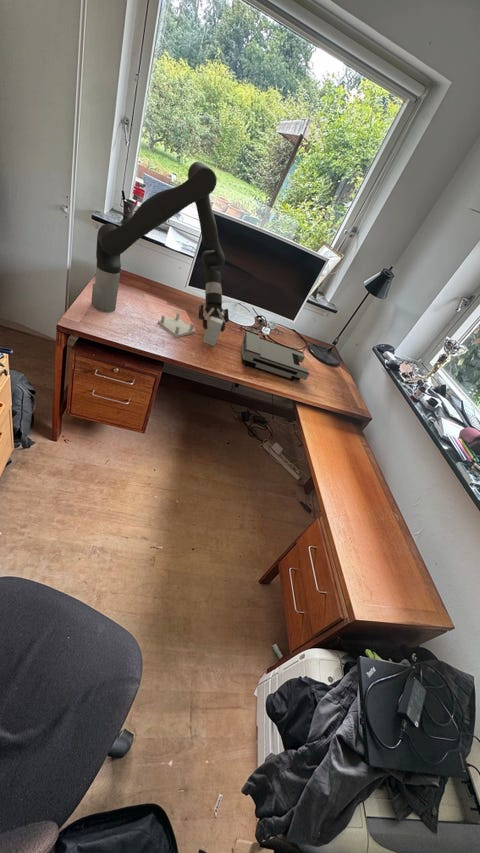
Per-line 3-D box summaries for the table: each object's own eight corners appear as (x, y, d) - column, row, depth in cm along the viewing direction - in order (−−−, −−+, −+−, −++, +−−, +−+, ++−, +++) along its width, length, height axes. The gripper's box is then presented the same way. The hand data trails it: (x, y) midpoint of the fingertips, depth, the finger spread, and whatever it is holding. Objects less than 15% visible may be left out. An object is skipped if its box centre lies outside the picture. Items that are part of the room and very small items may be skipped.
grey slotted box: (302, 386, 164) (310, 372, 159) (240, 365, 157) (246, 350, 152) (297, 363, 179) (304, 350, 174) (240, 343, 172) (246, 329, 167)
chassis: (175, 337, 154) (178, 329, 151) (157, 323, 157) (159, 314, 155) (194, 332, 163) (196, 325, 160) (176, 319, 166) (178, 311, 164)
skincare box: (215, 342, 164) (223, 320, 156) (214, 346, 160) (222, 324, 153) (203, 338, 163) (211, 315, 155) (202, 342, 160) (209, 319, 152)
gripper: (202, 289, 150) (203, 326, 150) (231, 294, 157) (231, 330, 157) (196, 294, 157) (196, 330, 157) (223, 299, 164) (224, 333, 164)
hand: (214, 330), depth 157 cm, fingers open, 8 cm apart
